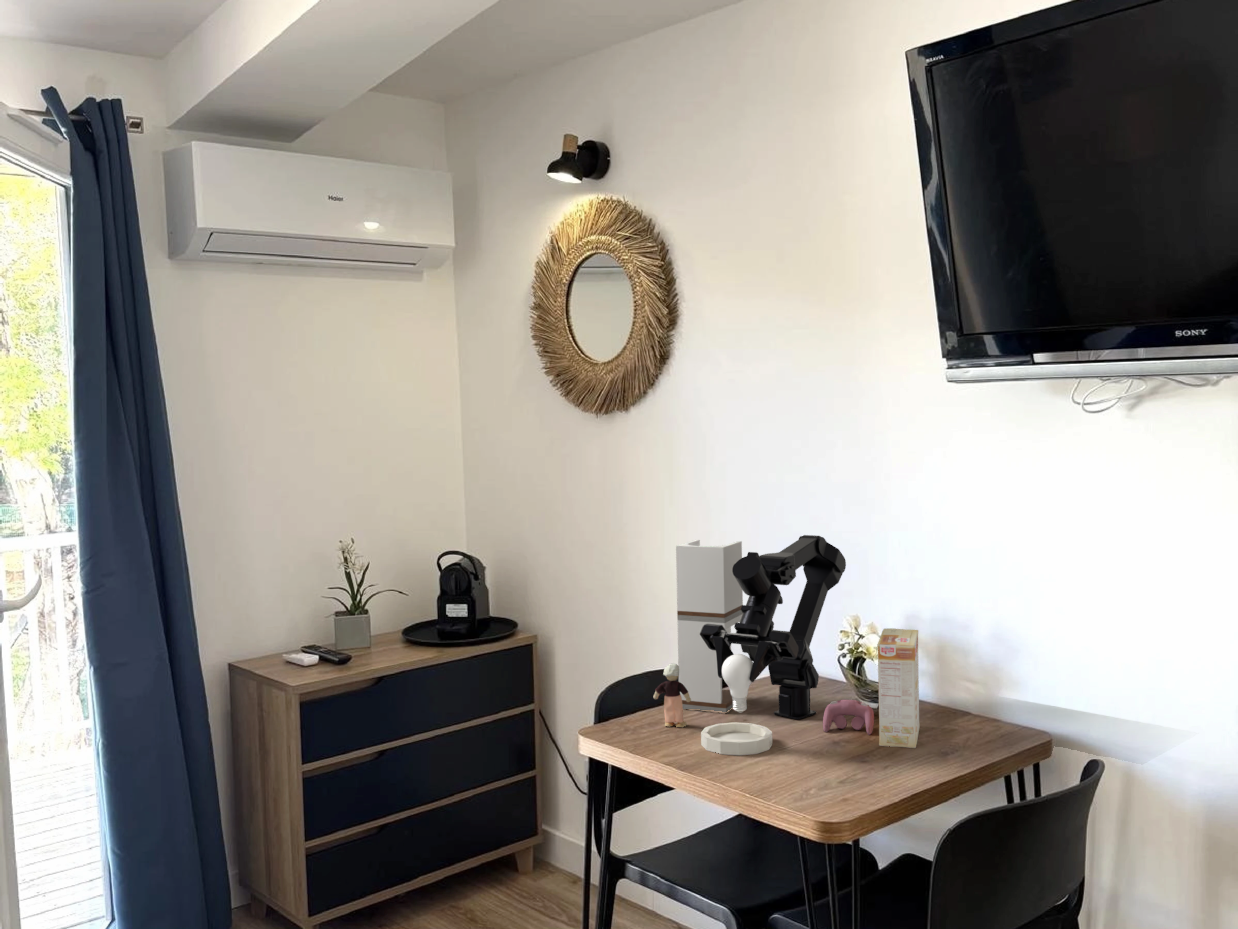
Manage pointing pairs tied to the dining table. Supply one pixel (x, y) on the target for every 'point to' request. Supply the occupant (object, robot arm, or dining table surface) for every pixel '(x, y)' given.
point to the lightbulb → (737, 679)
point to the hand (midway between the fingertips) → (735, 679)
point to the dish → (736, 738)
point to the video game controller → (848, 707)
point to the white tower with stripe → (705, 618)
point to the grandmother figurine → (672, 696)
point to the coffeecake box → (898, 688)
